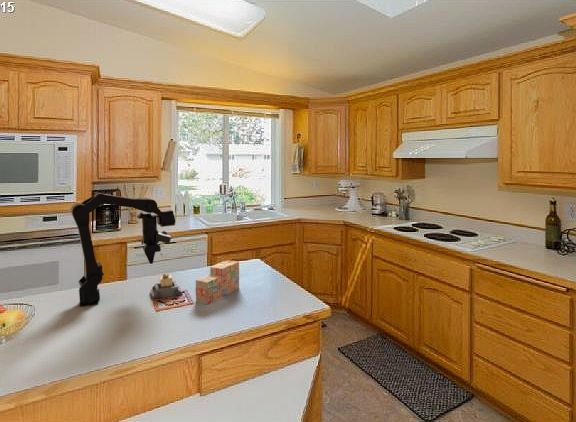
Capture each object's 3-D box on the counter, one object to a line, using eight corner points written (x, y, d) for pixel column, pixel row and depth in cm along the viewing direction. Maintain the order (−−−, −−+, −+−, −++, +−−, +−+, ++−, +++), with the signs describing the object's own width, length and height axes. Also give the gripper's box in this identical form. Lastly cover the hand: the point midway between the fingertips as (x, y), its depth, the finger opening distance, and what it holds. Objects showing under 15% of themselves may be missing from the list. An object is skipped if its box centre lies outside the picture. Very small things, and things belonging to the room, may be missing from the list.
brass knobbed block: (161, 293, 152) (160, 277, 151) (160, 289, 156) (159, 273, 155) (172, 291, 154) (171, 275, 153) (171, 288, 158) (170, 272, 157)
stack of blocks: (207, 305, 144) (207, 275, 142) (195, 301, 147) (194, 272, 145) (239, 288, 163) (239, 261, 161) (228, 285, 166) (227, 259, 164)
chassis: (152, 299, 148) (152, 291, 148) (150, 291, 157) (150, 283, 157) (183, 295, 154) (182, 287, 153) (179, 287, 162) (178, 279, 162)
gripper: (172, 230, 150) (174, 267, 152) (166, 223, 166) (167, 256, 169) (143, 232, 145) (145, 270, 147) (140, 224, 162) (142, 258, 164)
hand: (151, 263), depth 157 cm, fingers closed
